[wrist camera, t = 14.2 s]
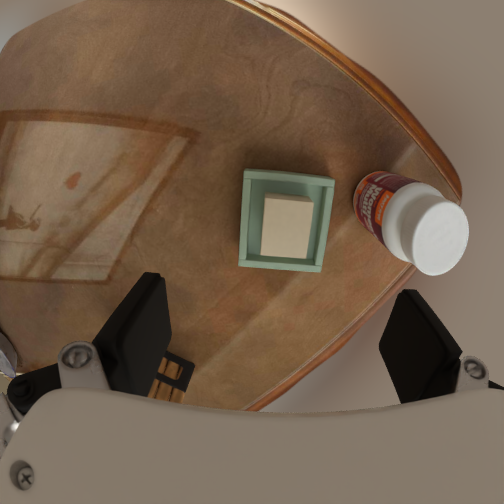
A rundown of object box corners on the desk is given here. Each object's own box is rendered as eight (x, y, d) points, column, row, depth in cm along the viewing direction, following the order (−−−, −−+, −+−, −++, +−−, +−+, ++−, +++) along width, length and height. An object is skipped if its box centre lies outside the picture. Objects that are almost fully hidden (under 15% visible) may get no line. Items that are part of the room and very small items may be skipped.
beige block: (265, 191, 24) (265, 197, 21) (308, 195, 24) (314, 202, 21) (260, 243, 26) (260, 255, 23) (301, 246, 26) (306, 259, 23)
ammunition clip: (195, 364, 34) (175, 438, 23) (190, 371, 35) (170, 442, 24) (125, 328, 32) (85, 393, 21) (122, 336, 33) (84, 400, 22)
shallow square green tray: (245, 168, 24) (243, 170, 22) (330, 176, 24) (335, 179, 22) (240, 257, 28) (238, 266, 26) (317, 263, 27) (320, 272, 25)
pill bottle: (347, 175, 24) (402, 199, 13) (402, 166, 23) (474, 187, 13) (355, 235, 26) (403, 292, 16) (407, 224, 25) (470, 271, 15)
